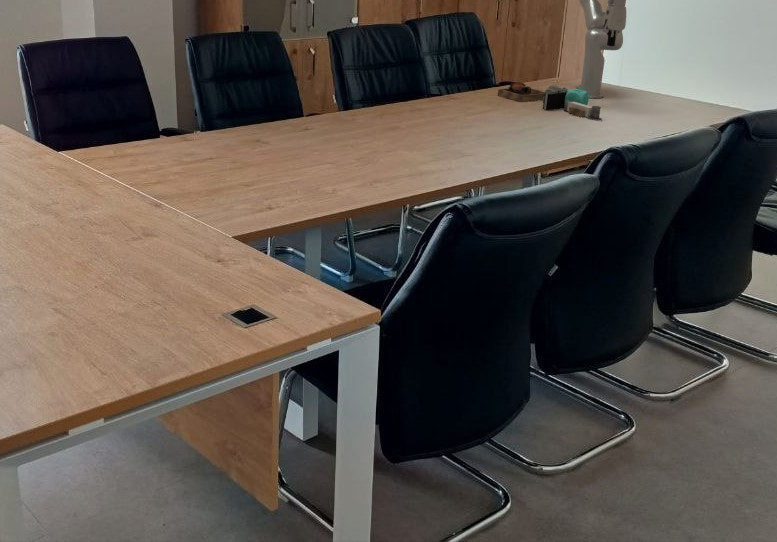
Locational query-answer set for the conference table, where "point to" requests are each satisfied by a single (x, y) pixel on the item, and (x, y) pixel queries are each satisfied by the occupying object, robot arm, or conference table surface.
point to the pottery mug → (519, 88)
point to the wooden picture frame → (533, 96)
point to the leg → (579, 106)
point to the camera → (554, 98)
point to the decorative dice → (577, 96)
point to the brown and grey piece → (579, 112)
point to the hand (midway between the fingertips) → (610, 45)
